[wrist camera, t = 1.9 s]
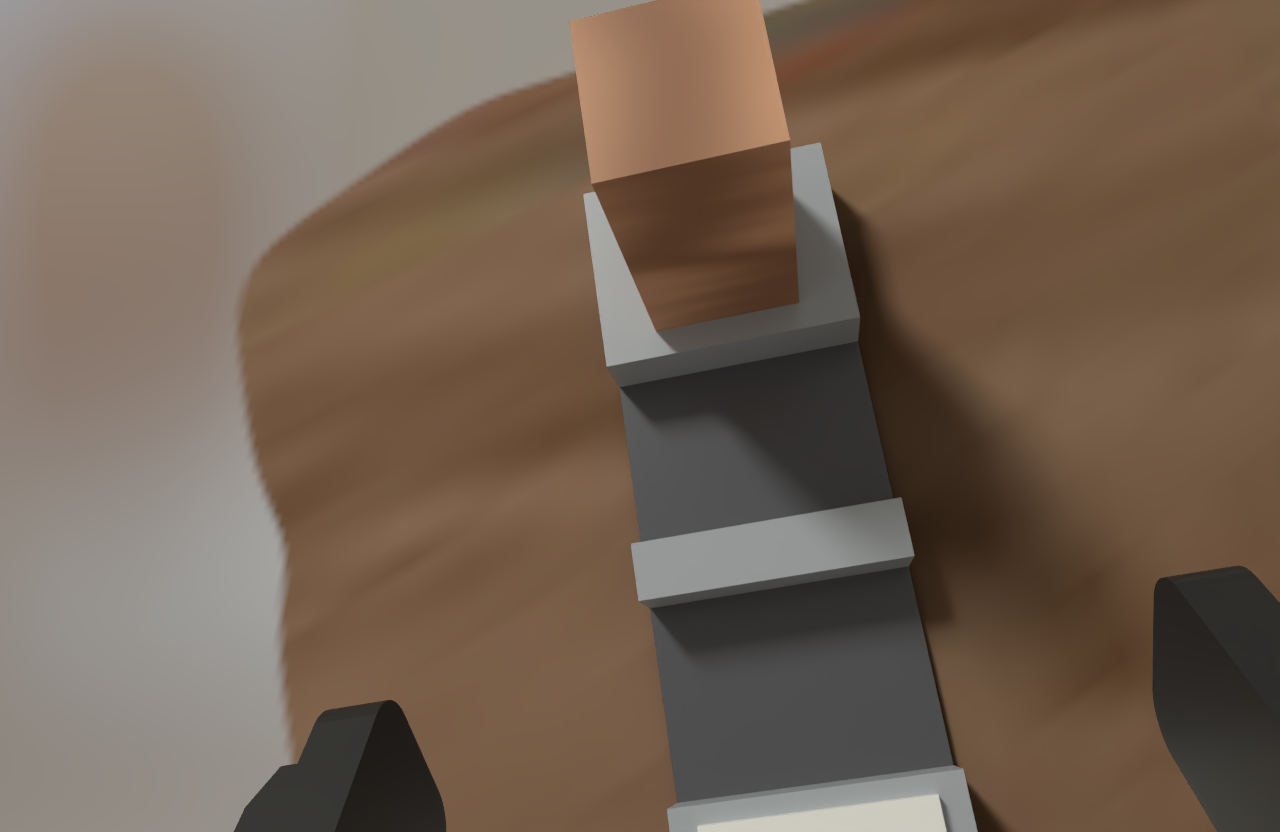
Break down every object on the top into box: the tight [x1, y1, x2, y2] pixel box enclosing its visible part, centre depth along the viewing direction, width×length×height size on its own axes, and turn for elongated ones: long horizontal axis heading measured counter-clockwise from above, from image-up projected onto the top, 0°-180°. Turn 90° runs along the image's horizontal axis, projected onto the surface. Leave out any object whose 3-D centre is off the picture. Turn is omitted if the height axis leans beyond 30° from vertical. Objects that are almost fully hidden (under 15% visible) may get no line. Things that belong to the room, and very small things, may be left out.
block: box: [569, 0, 799, 331], centre depth 24 cm, size 4×4×8 cm
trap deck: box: [583, 143, 978, 832], centre depth 26 cm, size 7×22×2 cm, turn 8°
